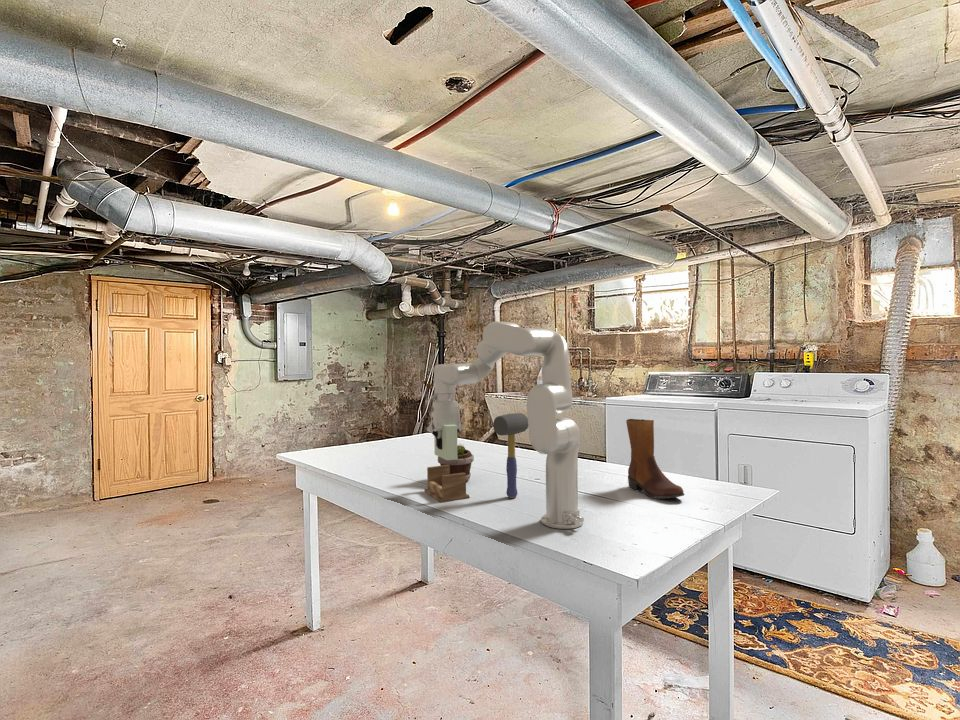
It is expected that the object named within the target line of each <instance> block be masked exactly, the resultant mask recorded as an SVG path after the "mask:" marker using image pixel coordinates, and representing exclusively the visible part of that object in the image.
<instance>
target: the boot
mask: <svg viewBox="0 0 960 720" xmlns="http://www.w3.org/2000/svg"><path fill="white" fill-rule="evenodd" d="M654 422H655V420H654V419H653V420H652V419H638V418H637V419H636V418H628V419H626V420H625V423H626V428H627V433H628V438H629V444H630V463H629V466H628V468H627V483H628V488H629V489H631V490H633V491H636V492H640V491H643V492H644V493H645V495H646V496H648V497H649V498H652V499H659V500H660V499H672V498H679V497H682V496H683V497H684V496H685V493H684V489H683V488H682V486H680V485H678V484H675V483H673V482H672V481H671V480H670V479H669V478H668V477H667V476H666V474H664V473H663V472H662V470H661V469H660V467H659V465H658V464H657V461H656V458H655V454H654V453H655V429H654V428H655V427H654V425H655V423H654Z"/></svg>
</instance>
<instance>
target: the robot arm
mask: <svg viewBox="0 0 960 720" xmlns="http://www.w3.org/2000/svg"><path fill="white" fill-rule="evenodd" d="M476 354H477V356H478V357H477V358H476V359H475V360H473V361H472V362H471V363H470V362H469V363H468V362H467V363H453V364H452V363H451V364H449V363H443V364H442V363H441V364H436V365H434V369H433V375H434V376H433V377H434V380H433V381H434V393H433V395H431V396H430V400H433V402H432V407H431V413H430V415H431V416H430V423H429V425H428V426H427V428H426V431H427V432H429V433H430V434H432V435H433V436H435V437H436V446H437V448H438V449H442V438H441V432H442V430H443V425H457V434H458V433H459V432H460V431H461V430H463V429H464V426H463V424H462V423H461V415H460V413H461V412H460V408H459V407H460V406H459V402H458V401H456V386H463V385H473V384H476V383H478V382H480V381H481V380H482V379H484V378H486V377H487V376H488V375H489V374H490V373H491V372H492V371H493V369H494V366H495V363H497V362H499V360H500V359H502V358H503V357H504V356H506V355H507V354H511V355H516V356H522V357H532V356H535V357H537V356H539V357H540V356H542V357H543V360H542V363H541V377H542V378H541V379H542V383H539V384H536V385H534V386H533V387H532V388H531V389H530V390H529V392H528V394H527V397H526V413H527V415H526V417H527V418H528V428H527V429H528V436H529V441H530V444H531V446H532V448H533V449H534V450H535V451H536V452H537V453H539V454H541V455H546V459H545V510H546V511H545V512H546V513H545V514H543V515H542V516H541V517H540V520H541V523H542V524H543V525H545V526H546V527H549V528H553V529H558V530H559V529H560V530H561V529H563V530H568V529H576V528H579V527H582V526H583V524H584V521H585V519H584V517H583V516H581V513H580V509H579V490H578V489H579V487H578V478H579V477H578V476H579V475H578V474H579V473H578V472H579V471H578V468H579V467H578V465H579V463H578V461H579V458H578V456H579V449H580V443H581V432H580V431H581V430H580V428H579V426H578V424H577V423H576V421H574V420H573V419H571V418H569V417H558V418H557V415H559V414H564V413H566V412H567V411H569V410H570V409H571V408H572V406H573V405H572V404H573V391H572V389H573V388H572V380H571V379H572V378H571V372H570V370H571V369H570V353H569V346H568V343H567V341H566V339H565V338H564V336H563V335H562V334H560V333H559V332H557V331H555V330H551V329H548V328H542V327H541V328H536V327H535V328H532V327H521V326H519V324H517V323H515V322H511V321H498V320H497V321H496V320H495V321H492V322H489V324H487V325H486V326H485V328H484V329H483V331H482V340H481V341H480V342H479V343H478V344H477V346H476ZM434 429H436V431H434Z"/></svg>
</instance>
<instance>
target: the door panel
mask: <svg viewBox="0 0 960 720" xmlns="http://www.w3.org/2000/svg"><path fill="white" fill-rule="evenodd" d="M433 430H434V431H436V429H433ZM433 436H434V435H433ZM441 438H442V449H438V448H437V446H436V437H435V436H434V438H433V439H434V441H433V442H434V455H435V456H437V457H438V456H439V457H441V458H443V459H445V460H455V459H458V456H457V445H458V433H457V425H443V430H442V432H441Z"/></svg>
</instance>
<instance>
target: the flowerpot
mask: <svg viewBox="0 0 960 720" xmlns="http://www.w3.org/2000/svg"><path fill="white" fill-rule="evenodd" d="M464 445H465V444H461V443H458V444H457V456H458V459H455V460H445V459H443V458H441V457H439V456H437V462H438V463H439V466H442V465H450V474H457V473H466V483H468V482H469V480H470V478H471V475H472V474H471V468H472V463H473V462H474V461H475V460H474V458H475V456H474V454H473V453H472V452H471V450H468V449H466V447H465V446H464Z"/></svg>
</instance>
